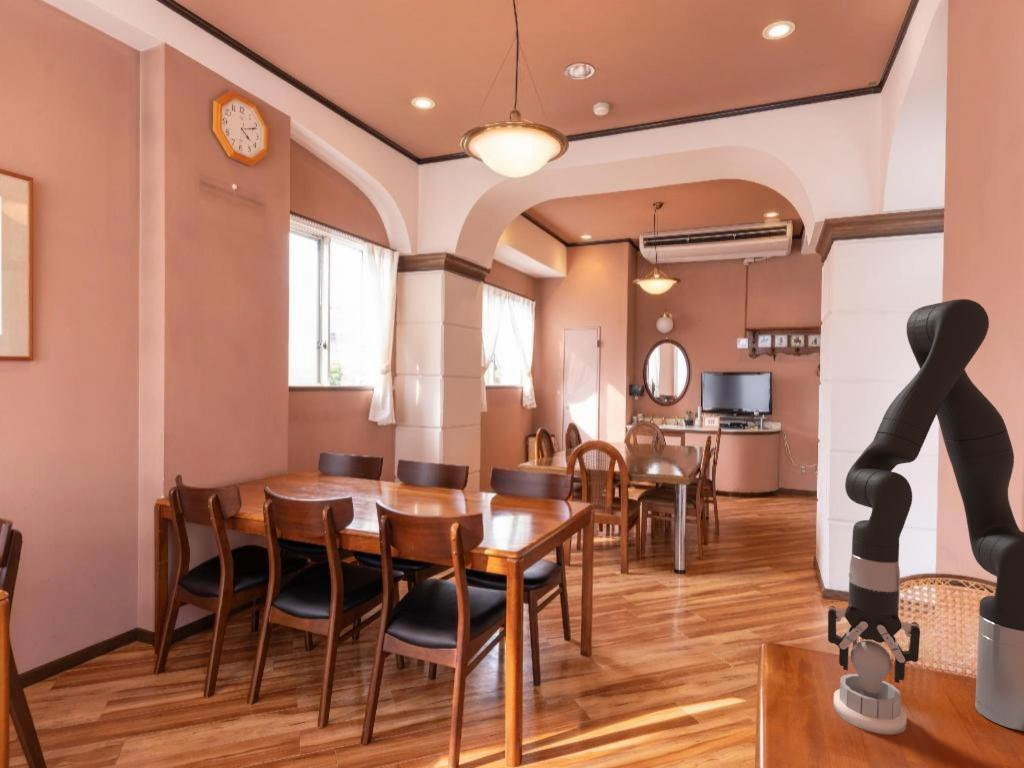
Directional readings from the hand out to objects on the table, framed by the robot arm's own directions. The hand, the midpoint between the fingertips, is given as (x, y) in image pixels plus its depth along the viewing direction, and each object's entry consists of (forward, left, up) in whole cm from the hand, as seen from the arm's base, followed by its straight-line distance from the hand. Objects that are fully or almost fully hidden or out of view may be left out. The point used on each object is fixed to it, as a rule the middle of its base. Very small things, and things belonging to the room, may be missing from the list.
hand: (870, 674), depth 104 cm
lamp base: (0, 0, -7) cm, 7 cm away
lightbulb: (0, 0, -6) cm, 6 cm away
